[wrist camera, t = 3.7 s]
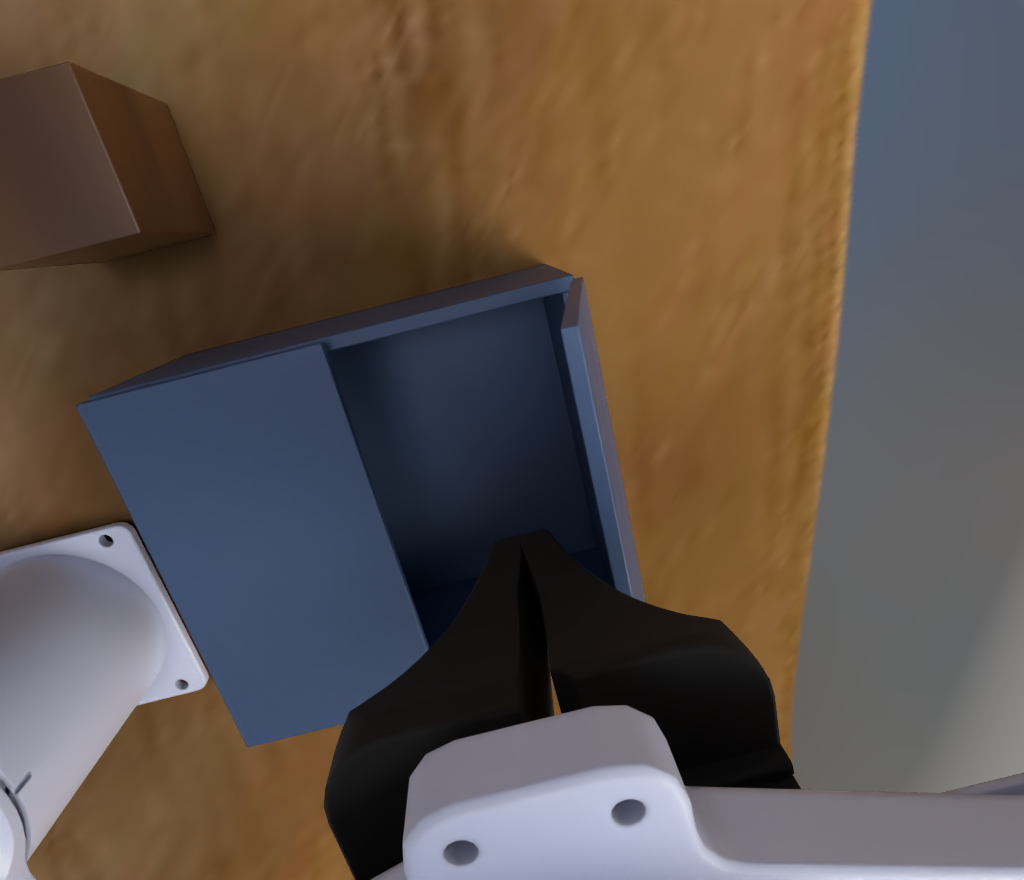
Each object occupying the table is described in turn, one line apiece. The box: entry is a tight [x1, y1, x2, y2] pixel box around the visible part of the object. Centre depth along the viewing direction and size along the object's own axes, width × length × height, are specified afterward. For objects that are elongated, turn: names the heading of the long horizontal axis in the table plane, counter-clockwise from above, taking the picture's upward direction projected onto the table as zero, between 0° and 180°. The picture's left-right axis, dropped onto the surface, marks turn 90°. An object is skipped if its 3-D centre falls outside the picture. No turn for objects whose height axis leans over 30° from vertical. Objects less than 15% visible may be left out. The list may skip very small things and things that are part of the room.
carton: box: [76, 264, 615, 747], centre depth 20 cm, size 13×12×7 cm
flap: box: [560, 277, 646, 603], centre depth 14 cm, size 6×12×1 cm
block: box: [0, 62, 215, 270], centre depth 17 cm, size 4×4×5 cm
